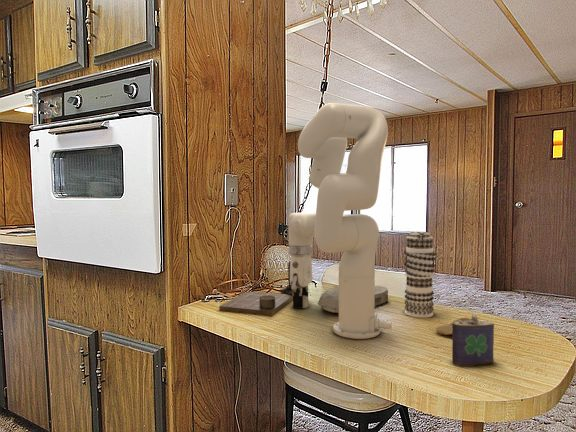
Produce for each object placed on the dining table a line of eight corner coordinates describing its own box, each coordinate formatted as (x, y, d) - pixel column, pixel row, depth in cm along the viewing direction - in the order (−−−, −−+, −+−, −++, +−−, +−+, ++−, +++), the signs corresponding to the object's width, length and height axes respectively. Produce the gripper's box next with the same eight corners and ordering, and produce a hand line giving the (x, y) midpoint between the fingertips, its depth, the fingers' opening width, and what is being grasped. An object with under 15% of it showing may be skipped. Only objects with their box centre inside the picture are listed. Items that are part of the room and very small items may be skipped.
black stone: (277, 305, 132) (277, 296, 131) (271, 309, 127) (271, 300, 127) (263, 303, 133) (263, 294, 133) (256, 308, 129) (256, 298, 128)
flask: (489, 359, 92) (490, 312, 91) (497, 364, 89) (498, 316, 89) (449, 361, 91) (450, 314, 91) (456, 367, 88) (456, 318, 88)
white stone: (310, 304, 137) (310, 295, 137) (305, 308, 132) (305, 299, 132) (296, 303, 139) (296, 294, 139) (291, 307, 134) (290, 298, 134)
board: (293, 299, 144) (293, 295, 144) (271, 316, 125) (271, 311, 125) (246, 295, 150) (246, 291, 150) (219, 310, 132) (219, 305, 132)
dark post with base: (294, 296, 149) (293, 263, 148) (279, 292, 154) (278, 260, 153) (310, 291, 155) (310, 260, 154) (295, 288, 160) (295, 257, 160)
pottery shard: (480, 347, 102) (484, 327, 111) (479, 332, 101) (483, 312, 109) (435, 342, 108) (442, 322, 116) (433, 327, 107) (441, 308, 115)
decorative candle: (419, 319, 120) (420, 234, 119) (396, 311, 129) (397, 231, 127) (441, 315, 125) (442, 232, 123) (418, 307, 133) (419, 230, 131)
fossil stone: (339, 319, 122) (339, 301, 121) (305, 308, 133) (305, 292, 132) (395, 301, 140) (395, 286, 140) (361, 293, 151) (361, 279, 151)
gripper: (302, 254, 125) (303, 313, 126) (318, 247, 141) (319, 299, 142) (279, 253, 128) (280, 311, 129) (297, 246, 144) (298, 298, 145)
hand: (300, 304), depth 136 cm, fingers closed on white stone, 5 cm apart
